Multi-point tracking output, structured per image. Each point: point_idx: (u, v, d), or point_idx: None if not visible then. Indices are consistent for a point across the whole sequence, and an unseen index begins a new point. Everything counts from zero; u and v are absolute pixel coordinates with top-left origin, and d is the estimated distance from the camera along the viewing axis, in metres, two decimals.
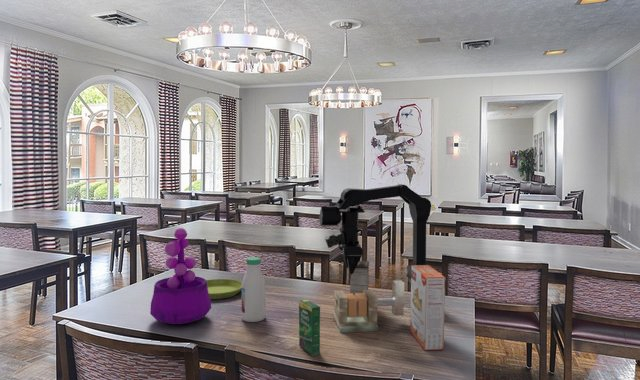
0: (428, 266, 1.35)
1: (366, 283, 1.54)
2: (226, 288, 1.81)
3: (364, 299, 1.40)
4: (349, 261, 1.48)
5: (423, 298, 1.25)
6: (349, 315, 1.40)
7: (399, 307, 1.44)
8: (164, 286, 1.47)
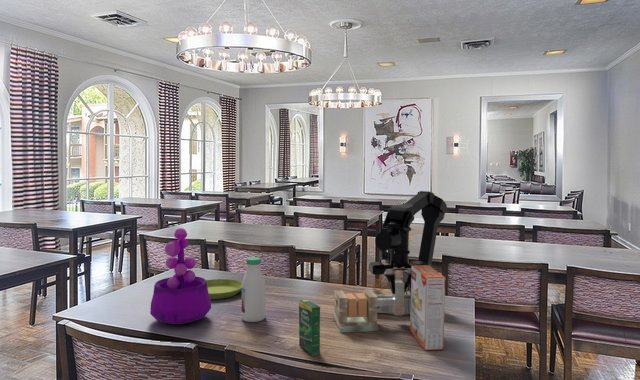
0: (428, 266, 1.35)
1: None
2: (226, 288, 1.81)
3: (364, 299, 1.40)
4: (388, 279, 1.45)
5: (423, 298, 1.25)
6: (349, 315, 1.40)
7: (399, 307, 1.44)
8: (164, 286, 1.47)
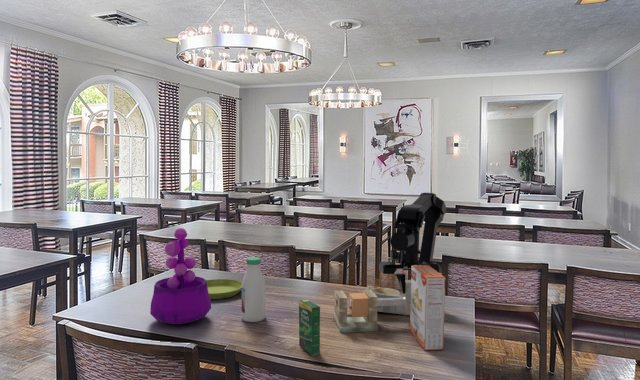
0: (428, 266, 1.35)
1: (397, 312, 1.52)
2: (226, 288, 1.81)
3: (366, 299, 1.41)
4: (398, 279, 1.46)
5: (423, 298, 1.25)
6: (353, 315, 1.40)
7: (409, 306, 1.44)
8: (164, 286, 1.47)
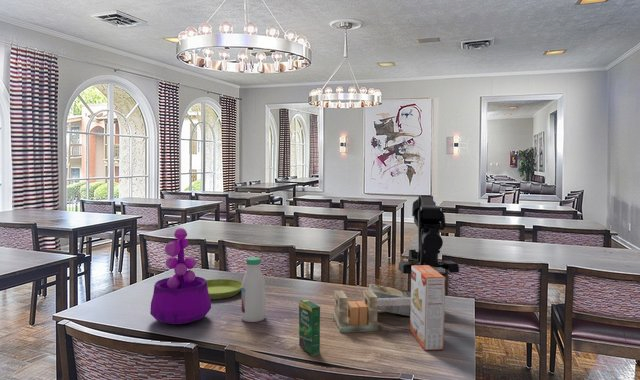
0: (428, 266, 1.35)
1: (399, 313, 1.50)
2: (226, 288, 1.81)
3: (365, 307, 1.41)
4: None
5: (423, 298, 1.25)
6: (351, 323, 1.40)
7: None
8: (164, 286, 1.47)
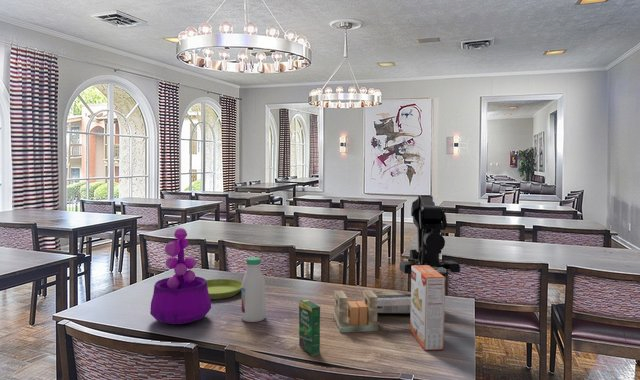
0: (428, 266, 1.35)
1: (399, 311, 1.50)
2: (226, 288, 1.81)
3: (365, 307, 1.41)
4: None
5: (423, 298, 1.25)
6: (351, 323, 1.40)
7: None
8: (164, 286, 1.47)
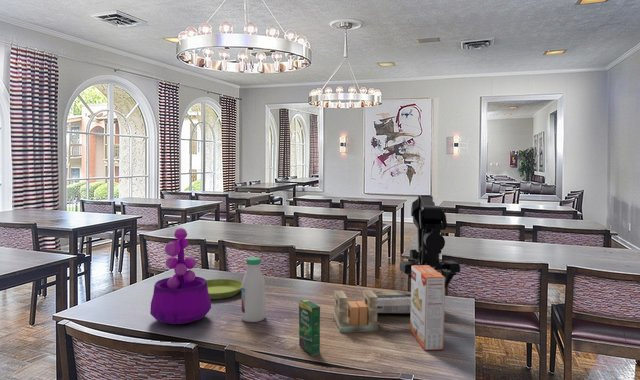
0: (428, 266, 1.35)
1: (399, 311, 1.50)
2: (226, 288, 1.81)
3: (365, 307, 1.41)
4: (410, 278, 1.46)
5: (423, 298, 1.25)
6: (351, 323, 1.40)
7: None
8: (164, 286, 1.47)
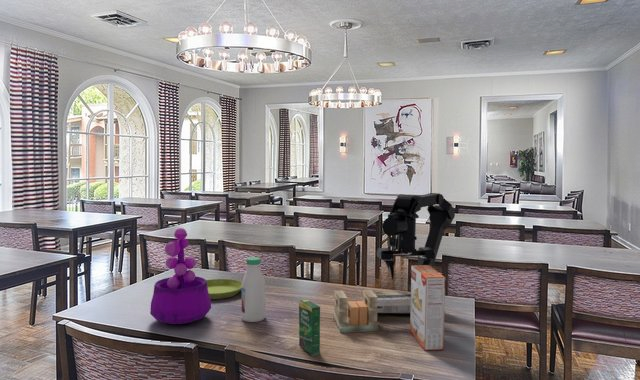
0: (428, 266, 1.35)
1: (399, 311, 1.50)
2: (226, 288, 1.80)
3: (365, 307, 1.41)
4: (387, 265, 1.50)
5: (423, 298, 1.25)
6: (351, 323, 1.40)
7: None
8: (164, 286, 1.47)
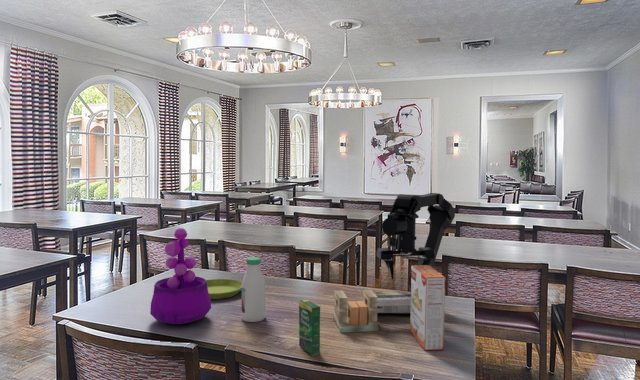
0: (428, 266, 1.35)
1: (399, 311, 1.50)
2: (226, 288, 1.80)
3: (365, 307, 1.41)
4: (387, 265, 1.50)
5: (423, 298, 1.25)
6: (351, 323, 1.40)
7: None
8: (164, 286, 1.47)
